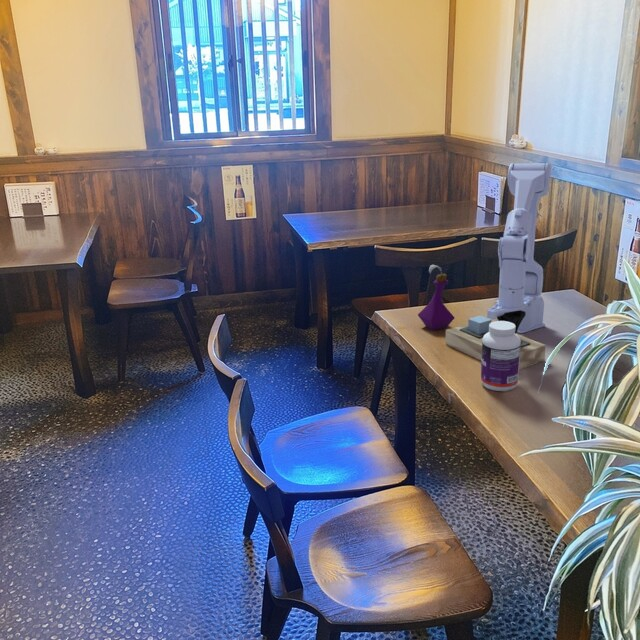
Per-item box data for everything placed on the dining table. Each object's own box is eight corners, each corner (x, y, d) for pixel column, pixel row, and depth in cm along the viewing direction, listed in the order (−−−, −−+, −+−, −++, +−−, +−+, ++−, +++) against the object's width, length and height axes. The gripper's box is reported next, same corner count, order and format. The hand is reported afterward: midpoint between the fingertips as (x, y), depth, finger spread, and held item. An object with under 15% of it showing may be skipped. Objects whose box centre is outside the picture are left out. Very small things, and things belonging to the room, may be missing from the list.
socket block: (479, 333, 168) (480, 318, 166) (544, 360, 150) (545, 343, 148) (445, 344, 162) (445, 328, 161) (508, 373, 144) (509, 356, 143)
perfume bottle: (439, 320, 178) (440, 259, 172) (454, 328, 172) (456, 266, 166) (417, 325, 176) (417, 264, 170) (431, 333, 169) (432, 270, 163)
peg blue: (479, 330, 161) (480, 315, 160) (490, 335, 158) (491, 319, 157) (468, 334, 160) (468, 318, 158) (479, 339, 156) (479, 323, 155)
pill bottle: (483, 375, 144) (485, 317, 139) (519, 379, 141) (523, 320, 136) (478, 390, 137) (480, 330, 132) (516, 395, 134) (519, 333, 129)
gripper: (517, 276, 152) (514, 327, 157) (477, 289, 144) (475, 342, 149) (542, 282, 147) (538, 335, 151) (502, 295, 139) (499, 351, 144)
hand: (508, 339), depth 150 cm, fingers closed, pressing on peg grey
